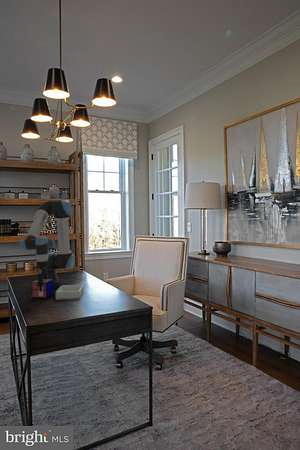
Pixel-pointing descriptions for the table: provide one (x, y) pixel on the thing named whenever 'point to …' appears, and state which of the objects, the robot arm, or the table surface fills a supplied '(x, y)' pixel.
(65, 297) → the bin
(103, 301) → the table surface
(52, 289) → the puzzle cube
